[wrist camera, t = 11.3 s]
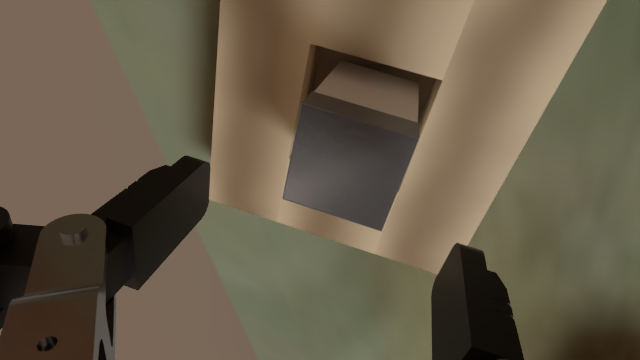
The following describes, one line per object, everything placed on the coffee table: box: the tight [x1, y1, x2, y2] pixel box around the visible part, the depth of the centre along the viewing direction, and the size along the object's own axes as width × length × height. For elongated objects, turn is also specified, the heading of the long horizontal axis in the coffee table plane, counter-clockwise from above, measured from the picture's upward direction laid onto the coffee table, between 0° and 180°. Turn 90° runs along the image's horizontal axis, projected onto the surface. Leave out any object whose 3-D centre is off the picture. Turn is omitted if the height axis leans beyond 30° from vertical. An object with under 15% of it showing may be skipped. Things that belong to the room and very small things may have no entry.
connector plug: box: [282, 60, 420, 232], centre depth 18 cm, size 5×5×8 cm
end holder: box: [209, 0, 607, 275], centre depth 21 cm, size 16×16×4 cm
